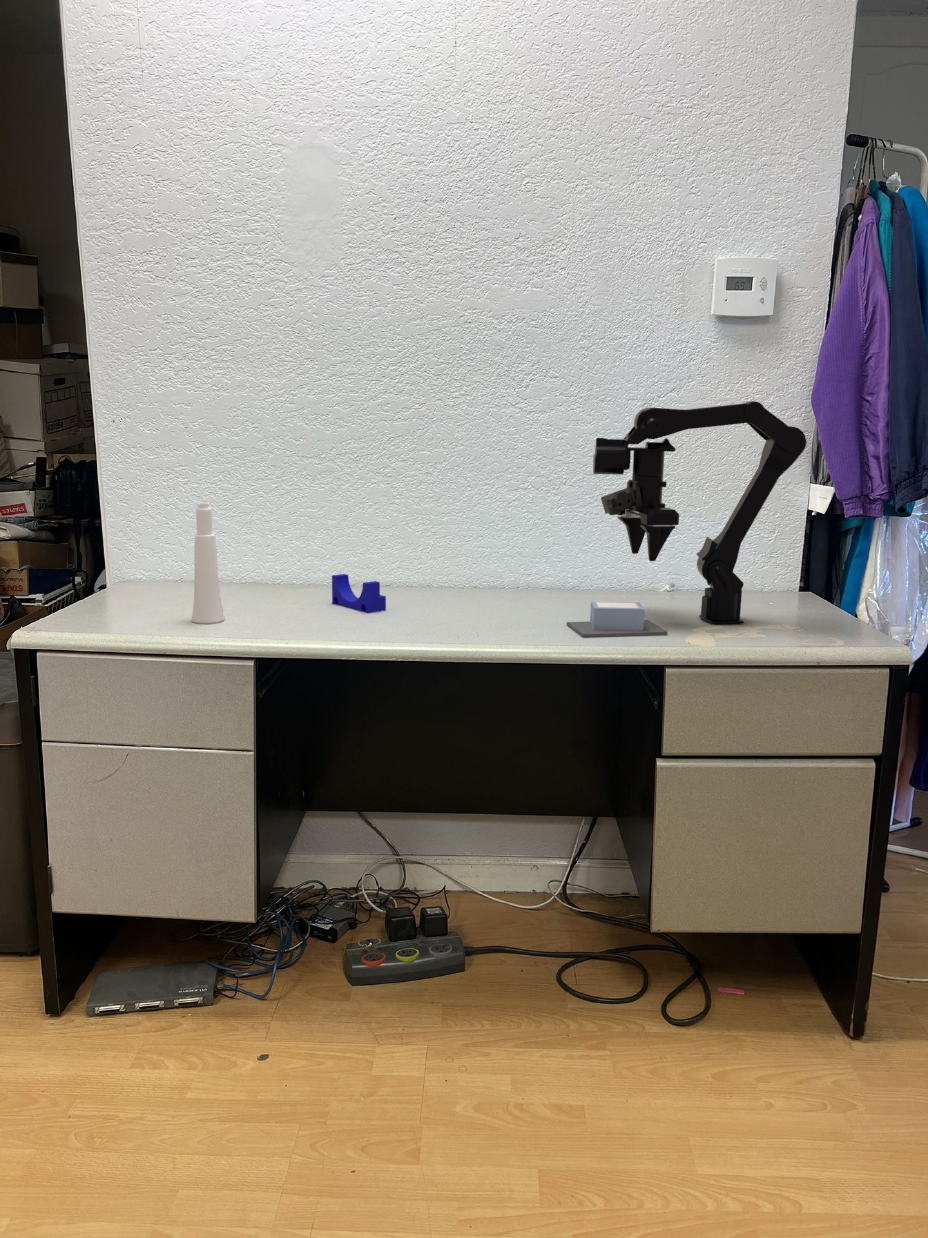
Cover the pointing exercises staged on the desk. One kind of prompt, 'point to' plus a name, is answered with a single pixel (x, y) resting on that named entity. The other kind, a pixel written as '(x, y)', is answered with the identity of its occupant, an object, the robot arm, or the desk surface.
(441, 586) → the desk surface
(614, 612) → the card deck
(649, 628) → the mat
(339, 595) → the cable clip
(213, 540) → the cosmetic bottle
